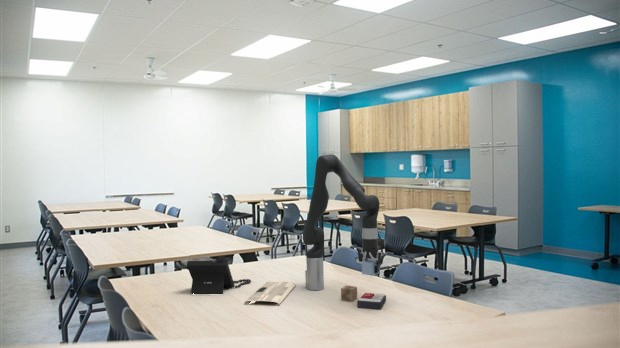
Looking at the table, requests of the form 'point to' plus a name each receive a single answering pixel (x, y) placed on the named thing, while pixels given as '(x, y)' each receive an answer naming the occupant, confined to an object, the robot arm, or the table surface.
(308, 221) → the robot arm
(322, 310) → the table surface
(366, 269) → the slate block
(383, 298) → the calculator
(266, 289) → the newspaper
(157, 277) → the table surface
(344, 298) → the walnut block
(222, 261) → the office phone
